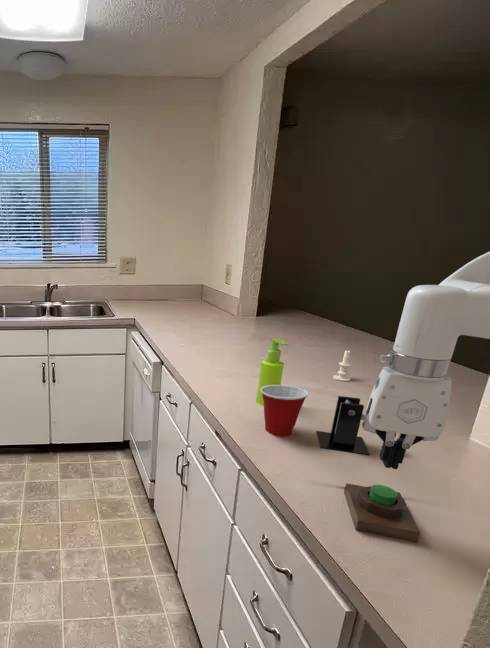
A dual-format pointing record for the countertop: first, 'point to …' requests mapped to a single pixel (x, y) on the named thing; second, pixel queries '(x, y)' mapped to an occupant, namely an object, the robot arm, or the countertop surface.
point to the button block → (380, 515)
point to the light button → (383, 494)
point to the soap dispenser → (271, 368)
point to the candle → (343, 368)
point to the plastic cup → (282, 407)
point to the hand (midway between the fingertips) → (389, 464)
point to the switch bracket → (345, 428)
